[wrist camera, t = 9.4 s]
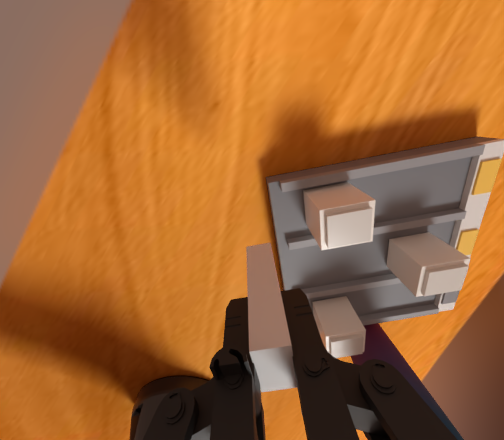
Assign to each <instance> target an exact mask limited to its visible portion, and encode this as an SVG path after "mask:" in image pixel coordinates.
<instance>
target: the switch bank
mask: <svg viewBox="0 0 504 440" xmlns="http://www.w3.org/2000/svg"><path fill="white" fill-rule="evenodd" d="M503 153H504V139H496V138H486V137H473V138H467V139H462V140H457V141H452V142H447V143H441V144H436V145H431V146H426V147H421V148H415V149H410V150H405V151H400V152H395V153H389V154H384V155H379V156H374V157H369V158H363V159H358V160H353V161H348V162H343V163H337V164H332V165H327V166H322V167H317V168H311V169H306V170H301V171H296V172H291V173H285V174H280V175H275V176H270V177H266V181H267V187H268V193H269V200H270V206H271V212H272V219H273V225H274V232H275V238H276V244H277V251H278V257H279V263H280V270H281V276H282V282H283V289H284V291H285V290H291V289H297V288H300V289H301V290H302V291H303V292H304V293H305V294H306V295H307V298H308V301H309V304H310V307H311V310H312V313H313V303H312V302H314V301H319V300H325V299H331V298H337V297H343V296H346V297H347V298H348V300H349V302H350V303H351V305H352V307H353V309H354V310H355V312H356V314H357V316H358V317H359V319H360V321H361V322H362V324H363V326H364V325H370V324H376V323H382V322H388V321H394V320H400V319H406V318H413V317H419V316H425V315H431V314H437V313H438V312H440V311H446V310H452V309H454V305H455V302H456V300H457V297H458V294H459V291H460V290H459V291H453V292H447V293H441V294H435V295H429V296H419V297H415V295H414V294H413V293H412V292H411V291H410V290H409V289H408V288H407V287H406V286H405V285H404V284H403V283H402V282H401V281H400V280H399V279H398V278H397V277H396V276H395V275H394V274H393V272H392V271H391V270H390V269H389V268H388V267H387V266H386V265H387V256H388V247H389V239H393V238H399V237H405V236H410V235H416V234H422V233H427V232H429V233H431V234H433V235H434V236H436V237H437V238H439V239H440V240H442V241H444V242H445V243H447V244H448V245H450V246H452V247H453V248H455V249H456V250H458V251H459V252H461V253H463V254H464V255H466V256H467V257H469V258H470V256H471V254H472V250H473V247H474V244H475V241H476V238H477V235H478V232H479V228H480V224H481V221H482V218H483V215H484V212H485V209H486V206H487V203H488V200H489V196H490V193H491V191H492V188H493V185H494V182H495V179H496V176H497V173H498V170H499V166H500V163H501V160H502V156H503ZM345 182H348V183H350V184H351V185H353V186H355V187H356V188H358V189H359V190H361V191H362V192H364V193H365V194H367V195H369V196H370V197H372V198H373V199H375V200H376V201H375V214H374V228H373V241H372V242H366V243H360V244H355V245H349V246H343V247H338V248H332V249H327V250H321V249H320V247H319V245H318V244H317V242H316V240H315V239H314V237H313V235H312V234H311V232H310V230H309V228H308V227H307V225H306V217H305V205H304V193H303V190H308V189H314V188H319V187H324V186H330V185H335V184H340V183H345ZM313 316H314V315H313Z"/></svg>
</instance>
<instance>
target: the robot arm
mask: <svg viewBox="0 0 504 440" xmlns="http://www.w3.org/2000/svg"><path fill="white" fill-rule="evenodd" d="M247 285H248V297H245V298H239V299H233V300H231V301H230V303H229V305H228V306H227V308H226V318H225V319H226V320H225V330H224V342H223V348H222V349H221V350H219V351H218V352H217V353H216V354H215V355H214V357H213V358H212V360H211V364H210V369H211V371H212V374H213V376H214V377H213V378H212V379H211V380H209V381H207V380H203V379H200V378H195V377H186V376H176V377H167V378H162V379H159V380H156V381H153V382H151V383H149V384H147V385H146V386H144V387H143V388H142V389H141V390H140V392H139V394H138V396H137V399H136V402H135V405H134V407H133V411H132V418H131V429H130V440H266V439H265V425H264V411H263V407H262V403H261V392H267V391H274V390H281V389H288V388H296V387H298V393H299V398H300V404H301V410H302V415H303V420H304V425H305V430H306V435H307V440H359V437H358V435H357V432H356V429H358V430H361V431H363V432H364V434H365V436H366V437H367V439H368V440H457V439H456V437H455V436H454V435H453V434H452V433H451V432H450V430H449V429H448V428H447V427H446V426H445V425H444V423H443V422H442V421H441V420H440V419H439V417H438V416H437V415H436V414H435V413H434V412H433V410H432V409H431V408H430V407H429V406H428V405H427V403H426V402H425V401H424V400H423V399H422V398H421V396H420V395H419V394H418V393H417V392H416V391H415V389H414V388H413V387H412V386H411V385H410V384H409V382H408V381H407V380H406V379H405V378H404V376H403V375H402V374H401V373H400V372H399V371H398V370H397V369H396V368H395V367H394V366H392V365H391V364H389V363H387V362H385V361H383V360H377V359H372V360H367V361H366V362H364V363H363V364H362V365H357V364H352V363H347V362H343V361H340V360H338V359H336V358H335V357H333V356H332V355H331V354H330V353H329V352H328V351H327V350H326V348H325V346H324V344H323V342H322V339H321V336H320V333H319V330H318V327H317V324H316V321H315V319H314V316H313V313H312V310H311V307H310V304H309V301H308V298H307V295H306V294H305V293H304V292H303V291H302V290H301V289H300V288H297V289H291V290H285V291H280V287H279V282H278V277H277V272H276V267H275V262H274V257H273V253H272V248H271V243H266V244H260V245H254V246H248V247H247ZM260 389H261V390H260Z"/></svg>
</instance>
